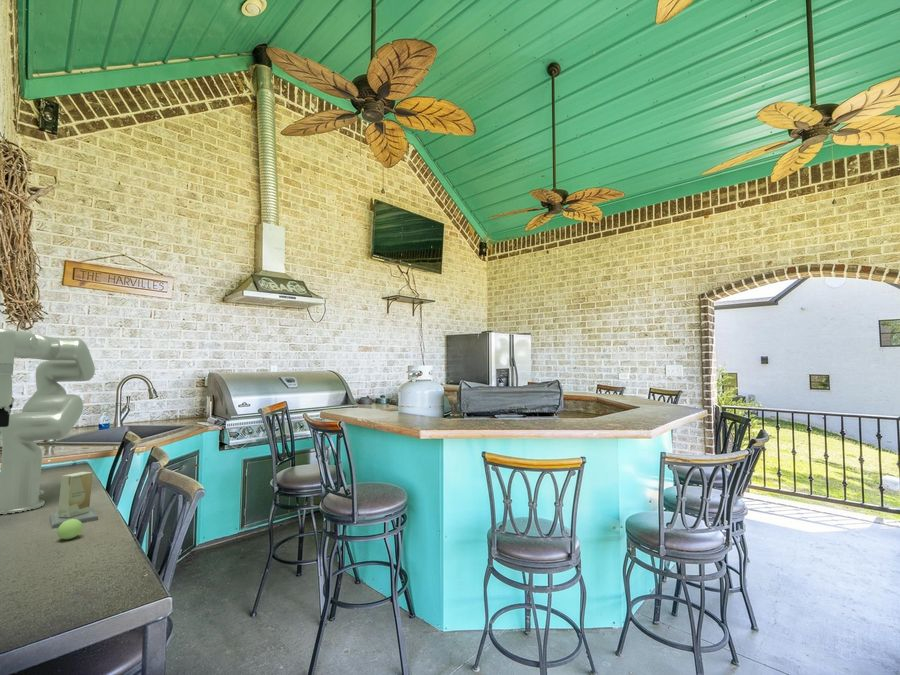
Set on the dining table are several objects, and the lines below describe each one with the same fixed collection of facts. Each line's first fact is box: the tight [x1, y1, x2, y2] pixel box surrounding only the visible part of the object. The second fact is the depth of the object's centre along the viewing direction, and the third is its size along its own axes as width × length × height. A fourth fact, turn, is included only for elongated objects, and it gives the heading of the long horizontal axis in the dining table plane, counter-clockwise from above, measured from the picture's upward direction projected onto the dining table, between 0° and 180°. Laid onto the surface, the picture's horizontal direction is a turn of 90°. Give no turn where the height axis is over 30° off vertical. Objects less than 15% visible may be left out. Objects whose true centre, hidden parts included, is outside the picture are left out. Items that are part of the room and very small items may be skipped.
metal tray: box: [49, 506, 99, 529], centre depth 128 cm, size 14×10×1 cm
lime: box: [56, 519, 84, 541], centre depth 111 cm, size 5×5×5 cm
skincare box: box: [57, 471, 94, 518], centre depth 129 cm, size 6×4×12 cm
